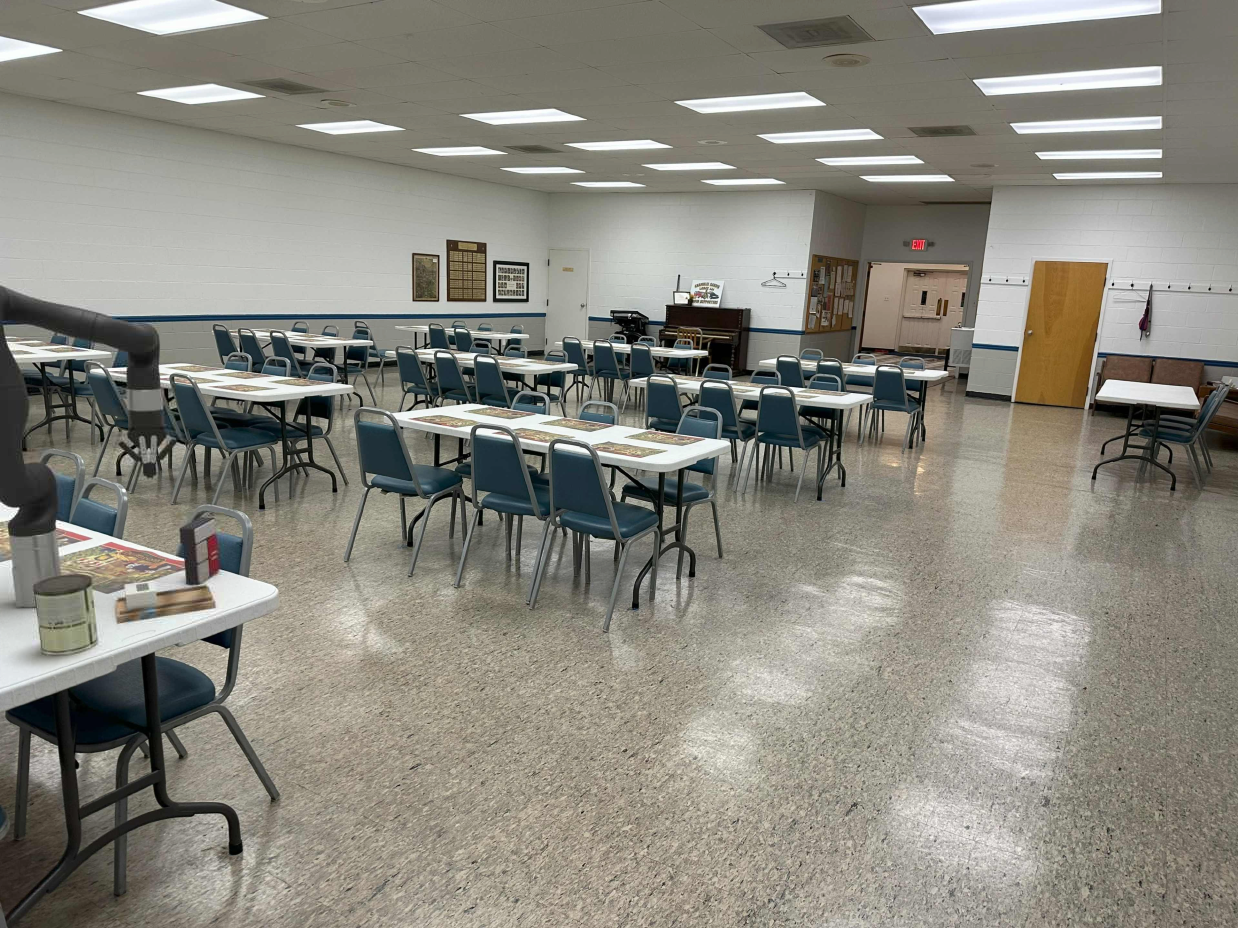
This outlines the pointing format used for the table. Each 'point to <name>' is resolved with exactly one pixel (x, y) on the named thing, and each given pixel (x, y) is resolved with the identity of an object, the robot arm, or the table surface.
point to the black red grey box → (199, 549)
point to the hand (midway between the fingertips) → (150, 477)
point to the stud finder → (140, 594)
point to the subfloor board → (168, 604)
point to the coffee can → (66, 614)
